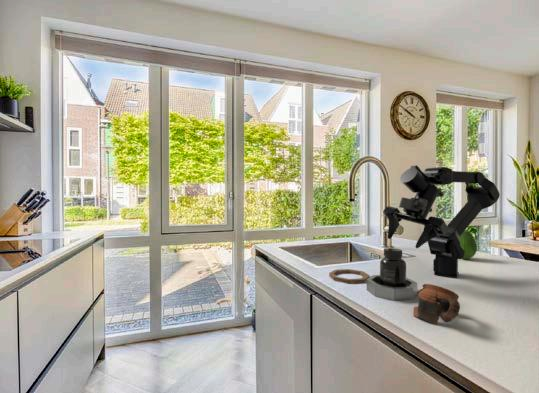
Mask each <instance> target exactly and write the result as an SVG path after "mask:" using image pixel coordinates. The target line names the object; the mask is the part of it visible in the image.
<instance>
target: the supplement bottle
mask: <svg viewBox="0 0 539 393" xmlns="http://www.w3.org/2000/svg"><path fill="white" fill-rule="evenodd" d="M379 275H380V285H384V286H389V287H406V278H407V263H406V261H405V260H404V259H403V249H400V248H396V247H395V248H394V247H391V248H390V247H389V248H388V247H386V248H384V249H383V257H382V258H381V260H380V261H379Z"/></svg>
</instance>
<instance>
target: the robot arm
mask: <svg viewBox="0 0 539 393" xmlns="http://www.w3.org/2000/svg"><path fill="white" fill-rule="evenodd" d="M399 180H400V182H401V183H402V184H403V185H404V186H405V187H406V188H407V189H408V190H409V191H411V192H412V193H415V195H414V197H411V198H408V197H407V198H406V197H401V200H400V203H399V205H398V207H394V206H390V205H388V206H385V207H384V209H383V211H382V212H383V214H384V216H385V217H386V218H387V219H388V228H387V229H388V230H387V239H388V240H391V239H392V237H393V236H394V235H395V232H396V231H397V230H398V228H399V227H400V225H401V224H400V222H401V221H402V220H403V221H407V222H411V223H415V224H418V225H422V226H423V231H422V233H421V234H420V236H419V238H418V239H417V241H416V243H415V249H419V248H421V247H422V246H424V245H425V244H426V243H427V244H428V245H427V246H428V249H429V252H430V255H434V256H435V258H434V259H432V260H433V264H432V265H433V268H432V269H433V270H432V271H433V275H435V276H442V277H448V278H456V279H457V278H458V276H459V275H460V274H459V273H460V272H459V260H462V258H463V257H464V253H465V251H464V250H463V249H462V247H461V246H460V244H461V242H460V236H461V234H462V233H463V232H464V231H465V230H467V228H468V227H469V226H470V225H471V223H473V221H474V220H475V219H476V217H477V216H478V215H479V214H480V213H481V211H482V210H484V209H487V208H490V207H492V206H493V205H495V203H497V201H498V200H499V198H500V191H499V190H498V188H497V186H496V184H495V183H494V182H493V181H492V180H489V179H488V178H487V177H485V175H484V173H483V172H481V171H462V170H461V171H459V170H457V171H456V170H453V169H452V168H449V167H446V166H440V167H439V166H438V167H428V168H425V169H424V171H422V170H421V168H420V167H419V166H418V165H411V166H410V168H408V169H406V170H405V171H404V172H403V173H401V175H400V177H399ZM452 183H464V184H465V189H464V190H465V193H466V194H467V195H466V197H467V202H466V203H465V204H464V205H463V207H462V208H461V209H459V211H458V212H457V213H456V215H455V216H454V217H453V218H452V219H451V221H450V222H449V223H448V224H446V221H445V220H444V218H440V217H437V216H429V217H428V215H429V213H432V212H433V208H432V207H433V205H434V203H435V202H436V199H437V198H442V197H444V193H443V192H442V189H441V188H439V187H437V186H446V185H450V184H452ZM473 184H478V185H479V186H473ZM399 208H400V209H401V208H402V210H403V212H404V213H403V212H401V211H400V209H399ZM427 217H428V218H427Z"/></svg>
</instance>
